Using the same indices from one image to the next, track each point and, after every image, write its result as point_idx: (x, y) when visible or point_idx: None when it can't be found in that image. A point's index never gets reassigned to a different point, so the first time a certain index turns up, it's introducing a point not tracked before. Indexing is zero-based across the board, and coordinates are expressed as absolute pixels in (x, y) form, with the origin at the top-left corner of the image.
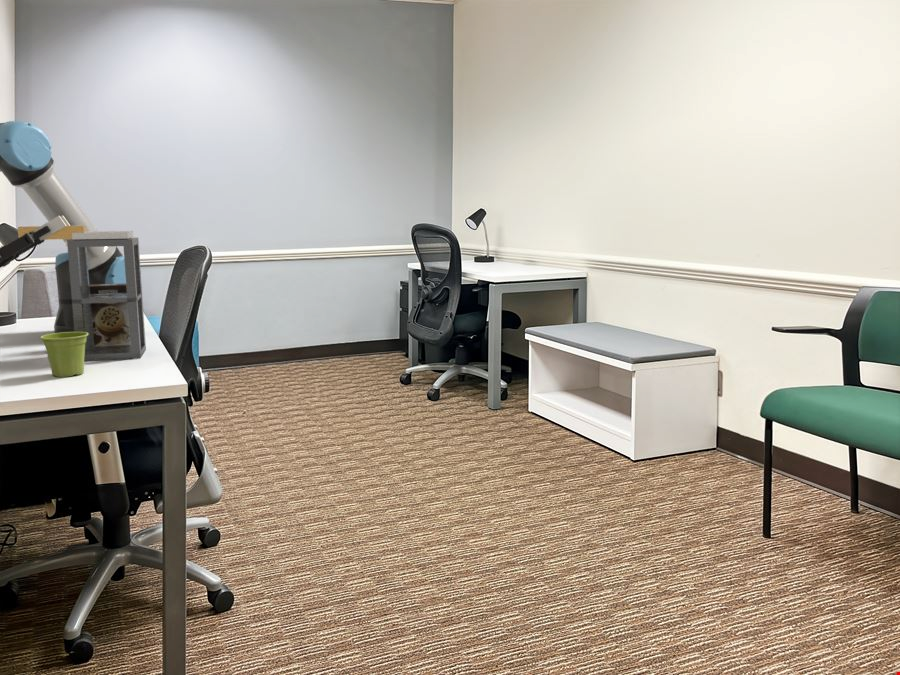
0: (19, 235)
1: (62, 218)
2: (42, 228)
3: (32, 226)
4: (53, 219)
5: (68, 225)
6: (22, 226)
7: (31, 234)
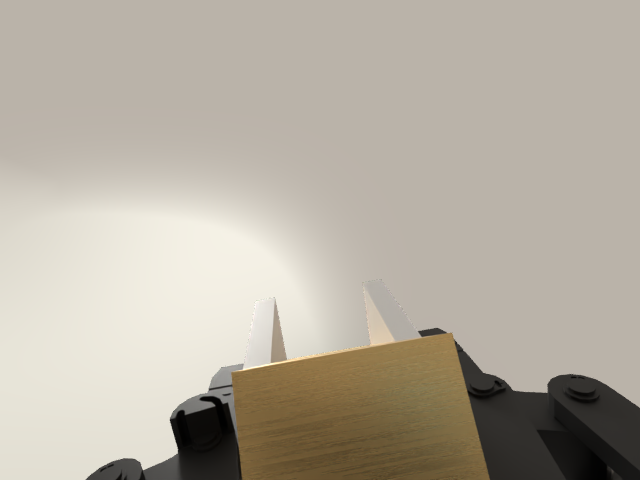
0: (483, 465)
1: (276, 314)
2: (458, 344)
3: (340, 351)
4: (389, 295)
5: (286, 358)
6: (240, 370)
7: (531, 395)
